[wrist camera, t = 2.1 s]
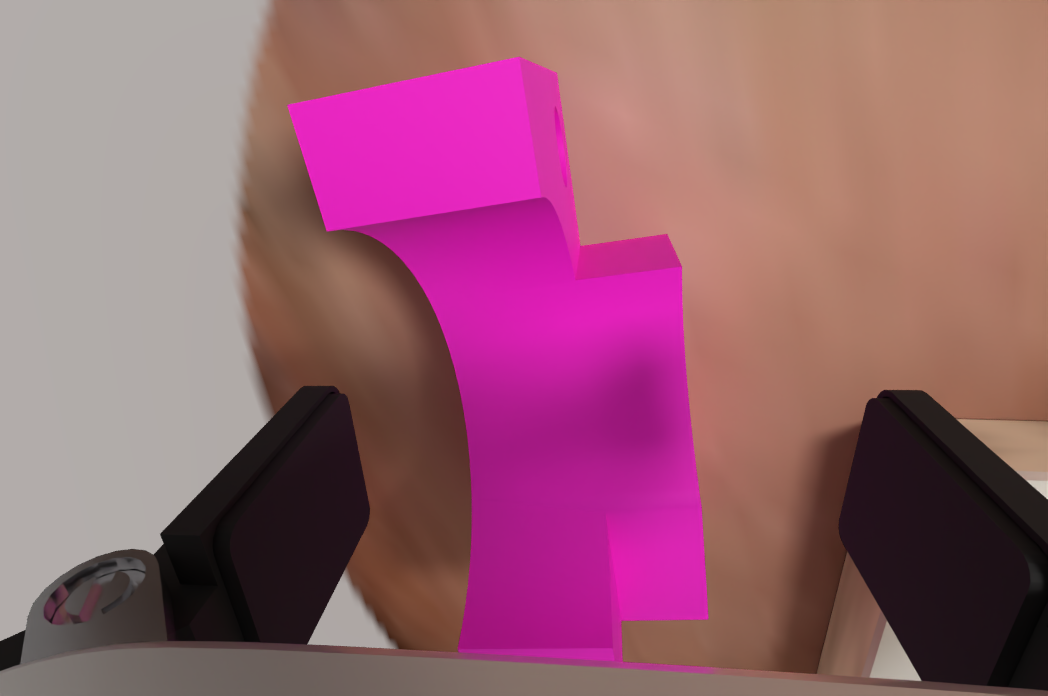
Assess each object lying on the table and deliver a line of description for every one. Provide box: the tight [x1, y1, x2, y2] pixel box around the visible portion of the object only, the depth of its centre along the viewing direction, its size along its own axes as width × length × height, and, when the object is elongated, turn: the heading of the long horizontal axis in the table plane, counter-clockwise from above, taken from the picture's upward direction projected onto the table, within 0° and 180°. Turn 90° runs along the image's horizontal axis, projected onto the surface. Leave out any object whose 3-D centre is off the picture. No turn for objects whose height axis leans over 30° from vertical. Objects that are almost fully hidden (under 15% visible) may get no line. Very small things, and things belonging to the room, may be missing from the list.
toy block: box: [287, 57, 708, 662], centre depth 15 cm, size 15×6×8 cm, turn 10°
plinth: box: [817, 419, 1048, 681], centre depth 19 cm, size 10×19×3 cm, turn 3°
